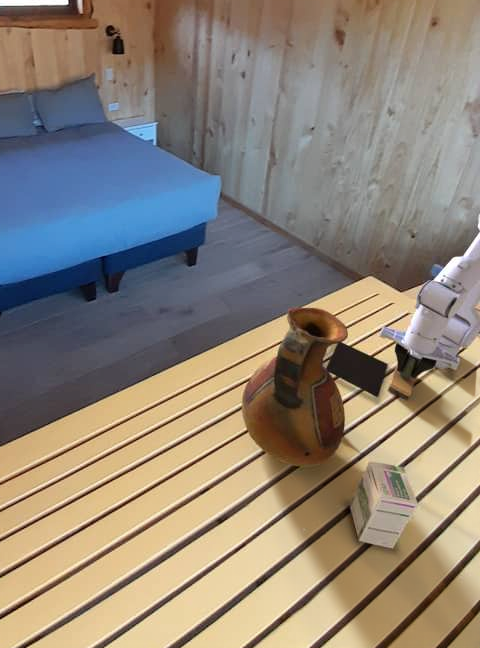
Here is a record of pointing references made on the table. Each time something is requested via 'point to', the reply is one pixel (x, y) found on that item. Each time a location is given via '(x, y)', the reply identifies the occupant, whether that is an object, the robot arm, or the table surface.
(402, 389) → the brush
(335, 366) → the enamel panel
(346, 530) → the table surface
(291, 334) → the ceramic pitcher
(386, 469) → the syrup box
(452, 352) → the robot arm
